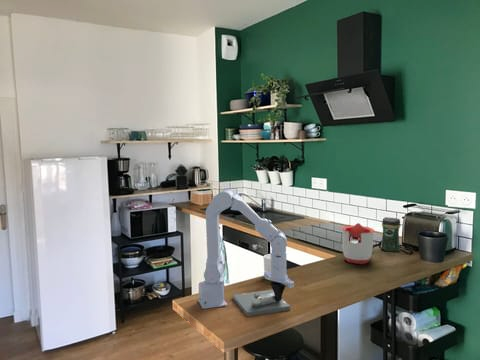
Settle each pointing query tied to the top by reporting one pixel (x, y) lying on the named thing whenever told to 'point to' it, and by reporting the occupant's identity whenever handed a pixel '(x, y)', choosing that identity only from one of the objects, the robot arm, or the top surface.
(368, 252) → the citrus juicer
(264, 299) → the lever
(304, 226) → the top surface
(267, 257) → the white cup
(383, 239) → the coffee jar
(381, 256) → the top surface
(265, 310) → the plate
